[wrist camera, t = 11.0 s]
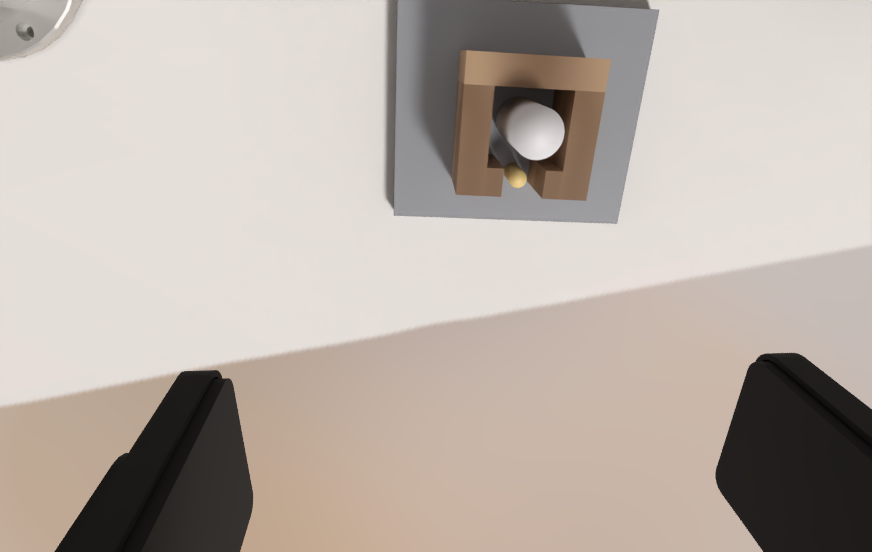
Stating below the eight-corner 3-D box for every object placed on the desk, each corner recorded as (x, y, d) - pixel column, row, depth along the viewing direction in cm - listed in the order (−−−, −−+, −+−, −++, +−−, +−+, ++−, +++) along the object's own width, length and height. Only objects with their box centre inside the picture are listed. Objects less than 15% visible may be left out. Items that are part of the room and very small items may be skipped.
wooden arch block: (586, 58, 29) (611, 59, 25) (566, 183, 31) (586, 200, 28) (459, 50, 28) (466, 50, 24) (451, 177, 31) (456, 194, 27)
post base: (394, 210, 33) (389, 246, 27) (398, -5, 28) (393, -19, 22) (611, 219, 33) (654, 255, 27) (651, 10, 29) (713, 0, 23)
